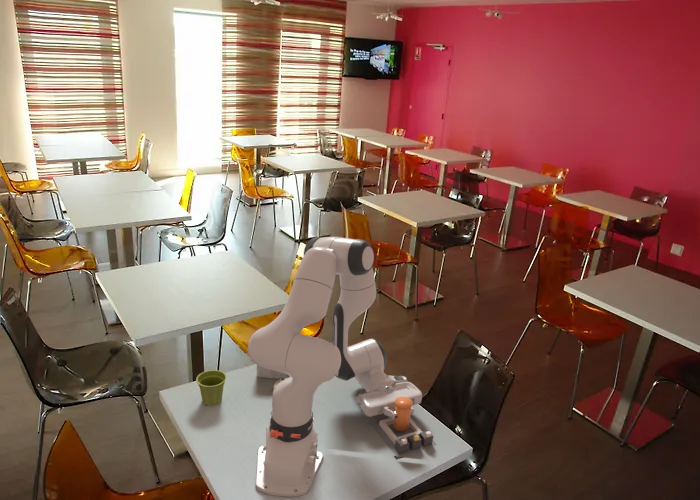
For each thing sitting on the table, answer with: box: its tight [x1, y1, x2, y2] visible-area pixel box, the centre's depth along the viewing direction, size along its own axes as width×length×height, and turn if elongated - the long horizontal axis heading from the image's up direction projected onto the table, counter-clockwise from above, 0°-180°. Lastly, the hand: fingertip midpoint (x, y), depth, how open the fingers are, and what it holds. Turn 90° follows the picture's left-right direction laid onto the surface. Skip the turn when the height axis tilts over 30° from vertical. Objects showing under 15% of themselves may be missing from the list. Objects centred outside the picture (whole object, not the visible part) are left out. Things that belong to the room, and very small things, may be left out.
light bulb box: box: [256, 364, 288, 380], centre depth 190 cm, size 11×7×11 cm, turn 89°
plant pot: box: [195, 369, 227, 407], centre depth 173 cm, size 9×9×9 cm
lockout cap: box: [393, 397, 414, 432], centre depth 163 cm, size 5×5×9 cm
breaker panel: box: [360, 409, 437, 460], centre depth 166 cm, size 23×14×5 cm, turn 26°
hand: (404, 414), depth 162 cm, fingers closed on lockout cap, 5 cm apart
